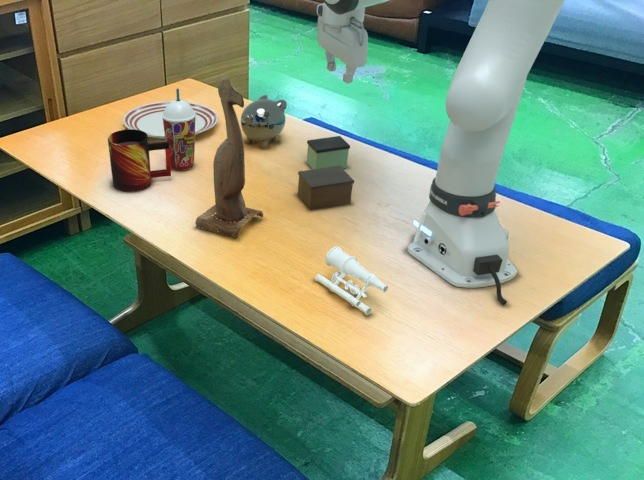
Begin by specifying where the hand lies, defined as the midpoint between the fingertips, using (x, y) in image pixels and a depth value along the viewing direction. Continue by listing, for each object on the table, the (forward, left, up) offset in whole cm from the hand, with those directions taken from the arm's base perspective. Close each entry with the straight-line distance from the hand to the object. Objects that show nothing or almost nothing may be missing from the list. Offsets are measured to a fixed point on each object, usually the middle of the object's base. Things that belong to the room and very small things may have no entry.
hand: (339, 76), depth 159 cm
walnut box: (-17, +9, -23) cm, 29 cm away
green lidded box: (0, +1, -23) cm, 22 cm away
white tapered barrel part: (-54, +19, -23) cm, 61 cm away
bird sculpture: (-21, +33, -23) cm, 45 cm away
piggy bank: (+19, +12, -23) cm, 32 cm away
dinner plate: (+37, +34, -23) cm, 55 cm away
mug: (+6, +49, -23) cm, 54 cm away
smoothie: (+11, +37, -23) cm, 45 cm away
